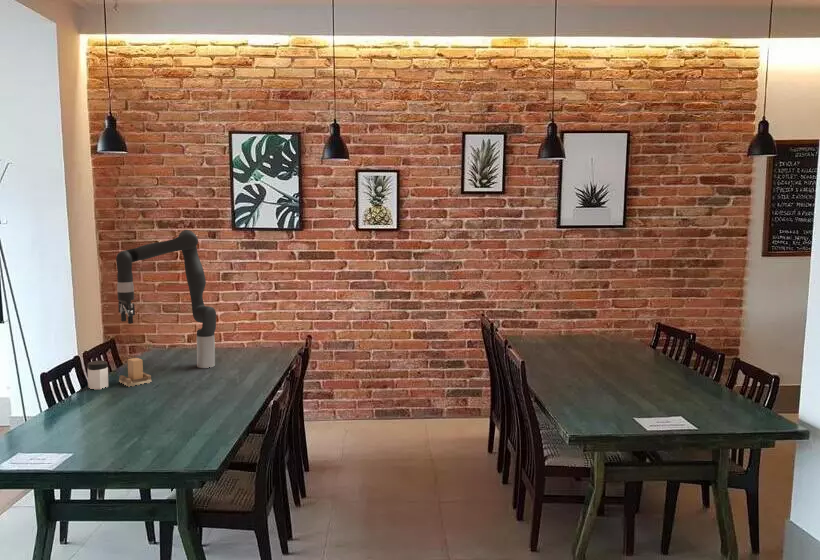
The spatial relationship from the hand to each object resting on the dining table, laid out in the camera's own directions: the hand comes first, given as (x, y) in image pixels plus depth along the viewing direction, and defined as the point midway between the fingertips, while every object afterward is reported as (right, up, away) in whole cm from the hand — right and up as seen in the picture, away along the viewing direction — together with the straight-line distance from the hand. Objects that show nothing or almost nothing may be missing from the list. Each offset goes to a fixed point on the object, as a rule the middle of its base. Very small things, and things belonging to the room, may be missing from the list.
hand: (127, 322), depth 295 cm
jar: (-5, -30, -18) cm, 35 cm away
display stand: (+8, -29, -9) cm, 31 cm away
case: (+9, -27, -9) cm, 30 cm away
